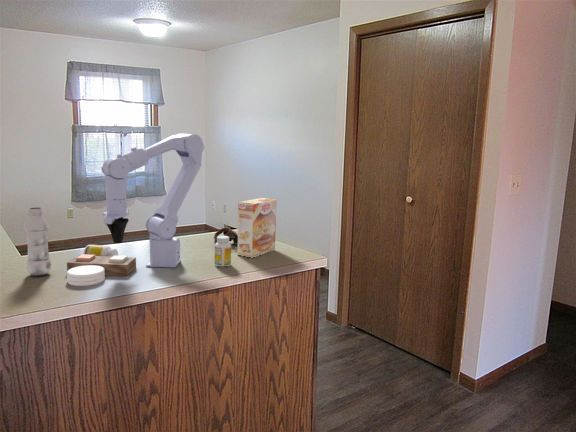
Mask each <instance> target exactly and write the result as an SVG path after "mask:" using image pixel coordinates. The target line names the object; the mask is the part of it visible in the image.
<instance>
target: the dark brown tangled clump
mask: <svg viewBox="0 0 576 432" xmlns="http://www.w3.org/2000/svg"><path fill="white" fill-rule="evenodd" d="M221 234H223V236H228V237H229V242H232V241H233V242H232V243H233V244H234V243H236V244H237V245H238V232H237V231H235V230H233V229H231V227H229V226H228V227H227V226H226V227H225V226H224V227H223V228H220V229H219V230H217V231H216V232H215V233H214V236H213V239H214V241H213V242H214V245H215V244H216V243H217V237H218V236H221ZM236 244H235V245H236Z"/></svg>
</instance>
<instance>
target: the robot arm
mask: <svg viewBox="0 0 576 432" xmlns="http://www.w3.org/2000/svg"><path fill="white" fill-rule="evenodd" d="M204 149H206V148H205V144H204V142H203V139H202V138H201V136H200V135H198V134H196V133H191V134H190V133H182V132H179V133H177V134H173V135H170V136H168V137H167V138H164V139H162V140H160V141H158V142H156V143H154V144H152V145H150V146H148V147H145V148H143V147H136V146H133V147H131V148H130V150H129V151H126V152H124V153H118V154H116V157H109V158H107V159H105V160H104V162H103V163H102V166H101V168H100V169H101V171H102V174H104V177H105V178H104V179H105V180H104V181H105V204H106V207H105V208H106V211H105V212H104V211H103V212H102V216H104V217H103V221H104V222H103V223H104V225H106V226H107V228H108V229H109V232H110V235H111V238H112V240H113V244H121V243H123V242H124V241H123V240H124V235H125V231H126V227H127V225H128V223H129V221H130V219H129V218H125V217H128V216H129V214H130V213H129V208H127V204H128V203H127V183H126V177H127V176H128V174H130V173H131V172H133V171H135V170H138V169H140V168H142V167H144V166H147V165H148V164H149V161H150V159H152V158H155V157H157V156H161V155H162V154H164V153H165V154H166V153H167V152H170V151H175V152H176V154H177V155H178V156H179V158H180V159H181V162H182V166H181V167H180V170H179V172H178V173H177V176H176V177H175V180H174V182H173V183H172V186H171V187H170V189H169V191H168V193H167V195H166V197H165V198H164V200H163V202H162V204H161V206H160V207H158V208H157V209H156V210H154V212H153V213H152V214H151V216H149V217H148V218H147V220H146V222H145V229H146V230H147V232H148V233H149V261H148V263H146V264H145V266H146V267H149V268H150V267H151V268H152V267H155V268H176V267H177V266H178V265H179V264H180V262H181V261H182V260H181V240H180V238H178V237H173V236H174V235H175V234H176V231H177V224H178V222H179V217H178V212H179V210H180V208H181V206H182V204H183V202H184V200H185V198H186V196H187V195H188V192H189V191H190V188H191V186H192V185H193V182H194V181H195V179H196V177H197V175H198V173H199V171H200V170H201V167H202V161H203V160H202V158H203V151H204Z"/></svg>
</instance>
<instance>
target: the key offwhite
mask: <svg viewBox="0 0 576 432" xmlns="http://www.w3.org/2000/svg"><path fill="white" fill-rule="evenodd" d="M127 257H128V256H127V255H118V256H115V255H114V256H113V257H112V258H110V259H109V262H110V263H124V262H126V261H127Z"/></svg>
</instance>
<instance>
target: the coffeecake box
mask: <svg viewBox="0 0 576 432" xmlns="http://www.w3.org/2000/svg"><path fill="white" fill-rule="evenodd" d="M277 201H278V200H277V199H275V198H269V197H268V198H267V197H259V198H258V197H257V198H253V199H248V200H243V201H238V202H237V203H238V209H237V210H238V211H237V215H238V217H237V220H238V221H237V235H238V244H237V256H238V255H241V256H240V257H243V256H246V257H245V258H247V257H252V258H253V257H255V258H257V257H256V256H258V257H260V256H259V255H261V254H263V255H265V254H264V253H266V254H268V253H267V252H269V253H271V252H273V251H272V250H274V251H275V250H276V235H277V234H276V230H277V229H276V228H277V203H278V202H277ZM270 251H271V252H270ZM261 256H262V255H261ZM252 258H251V259H252ZM253 259H254V258H253Z"/></svg>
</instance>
